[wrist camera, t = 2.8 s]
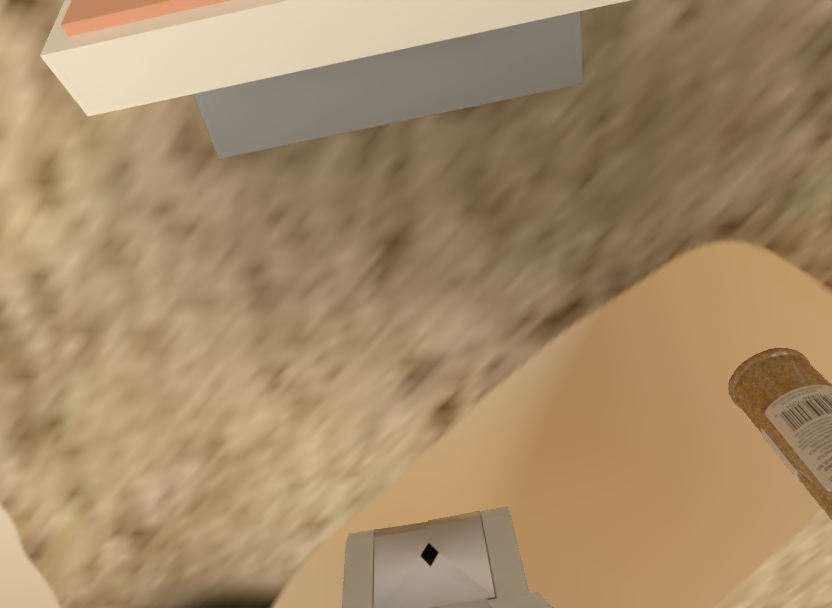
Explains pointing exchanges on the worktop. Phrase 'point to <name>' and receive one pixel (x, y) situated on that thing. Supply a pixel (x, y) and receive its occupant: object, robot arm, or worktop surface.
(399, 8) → the tile
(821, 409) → the sprinkles bottle
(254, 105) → the stand
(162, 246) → the worktop surface
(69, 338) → the worktop surface
